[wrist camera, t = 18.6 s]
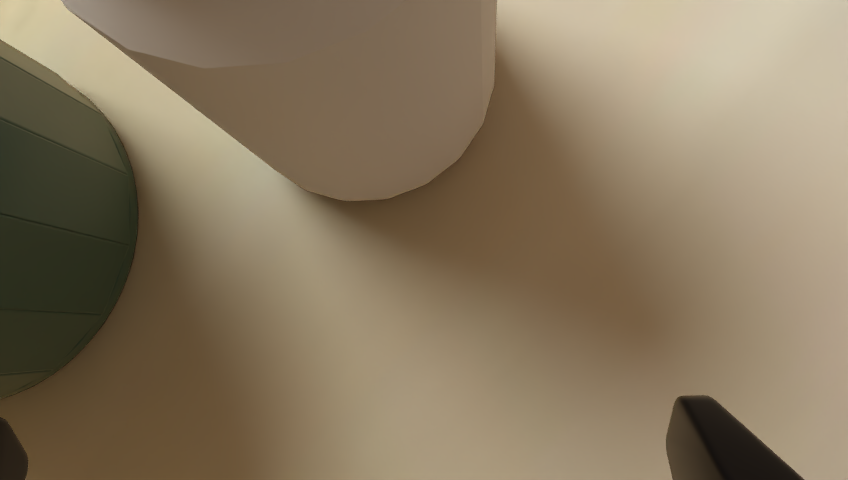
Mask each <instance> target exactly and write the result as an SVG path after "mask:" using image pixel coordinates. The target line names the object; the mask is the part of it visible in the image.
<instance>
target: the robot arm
mask: <svg viewBox="0 0 848 480" xmlns="http://www.w3.org/2000/svg"><path fill="white" fill-rule="evenodd" d="M666 450H667V456H668V460H669V465H670V469H671V473H672V478H673V480H804V479H803V478H802V477H801V476H800V475H799V474H797V473H796V472H795V471H794V470H793V469H792V468H791V467H790V466H789V465H787V464H786V463H785V462H784V461H783V460H782V459H781V458H780V457H778V456H777V455H776V454H775V453H774V452H773V451H772V450H771V449H769V448H768V447H767V446H766V445H765V444H764V443H763V442H762V441H761V440H759V439H758V438H757V437H756V436H755V435H754V434H753V433H752V432H750V431H749V430H748V429H747V428H746V427H745V426H744V425H743V424H741V423H740V422H739V421H738V420H737V419H736V418H735V417H734V416H733V415H731V414H730V413H729V412H728V411H727V410H726V409H725V408H724V407H722V406H721V405H720V404H719V403H718V402H717V401H716V400H714V399H713V398H711V397H709V396H706V395H696V396H680V397H678V398H677V399H676V401H675V403H674V407H673V411H672V415H671V419H670V424H669V428H668V432H667V437H666ZM27 471H28V457H27V454H26V452H25V450H24V448H23V447H22V445H21V443H20V442H19V440H18V438H17V437H16V435H15V433H14V431H13V430H12V428H11V426H10V425H9V423H8V422H7V421H6V420H5V419H3V418H1V417H0V480H25V478H26V475H27Z"/></svg>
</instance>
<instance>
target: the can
mask: <svg viewBox="0 0 848 480" xmlns="http://www.w3.org/2000/svg"><path fill="white" fill-rule="evenodd" d="M61 1H62V2H63V4H64V5H65V6H66V8H67V9H68V10H70V11H71V12H72V13H73V14H75V15H76V16H77V17H79V18H80V19H81V20H82V21H84V22H85V23H86V24H88V25H89V26H90V27H91V28H93V29H94V30H95V31H97V32H98V33H99V34H100V35H102V36H103V37H104V38H106V39H107V40H108V41H109V42H111V43H112V44H113V45H115V46H116V47H117V48H119V49H120V50H121V51H122V52H124V53H125V54H126V55H128V56H129V57H130V58H131V59H133V60H134V61H135V62H137V63H138V64H139V65H140V66H142V67H143V68H144V69H146V70H147V71H148V72H149V73H151V74H152V75H153V76H155V77H156V78H157V79H158V80H160V81H161V82H162V83H164V84H165V85H166V86H167V87H169V88H170V89H171V90H173V91H174V92H175V93H177V94H178V95H179V96H180V97H182V98H183V99H184V100H186V101H187V102H188V103H189V104H191V105H192V106H193V107H195V108H196V109H197V110H198V111H200V112H201V113H202V114H204V115H205V116H206V117H207V118H209V119H210V120H211V121H213V122H214V123H215V124H216V125H218V126H219V127H220V128H222V129H223V130H224V131H225V132H227V133H228V134H229V135H231V136H232V137H233V138H235V139H236V140H237V141H238V142H240V143H241V144H242V145H244V146H245V147H246V148H247V149H249V150H250V151H251V152H253V153H254V154H255V155H256V156H258V157H259V158H260V159H262V160H263V161H264V162H265V163H267V164H268V165H269V166H271V167H272V168H273V169H275V170H276V171H278V172H279V173H281V174H282V175H284V176H285V177H287V178H288V179H290V180H291V181H293V182H294V183H295V184H297V185H298V186H300V187H301V188H303V189H304V190H306V191H309V192H313V193H317V194H320V195H324V196H328V197H331V198H335V199H339V200H342V201H360V200H381V199H389V198H391V197H394V196H397V195H399V194H402V193H405V192H407V191H410V190H413V189H415V188H418V187H421V186H423V185H426V184H427V183H429V182H430V181H431V180H433V179H434V178H435V177H436V176H438V175H439V174H440V173H442V172H443V171H444V170H445V169H447V168H448V167H449V166H451V165H452V164H453V163H454V162H456V161H457V160H458V159H459V158H460V157H461V156H462V154H463V153H464V151H465V150H466V148H467V147H468V145H469V144H470V142H471V141H472V139H473V138H474V137H475V135H476V134H477V132H478V131H479V129H480V128H481V126H482V125H483V122H484V119H485V116H486V112H487V109H488V105H489V102H490V98H491V95H492V91H493V88H494V79H495V46H496V13H497V0H61Z"/></svg>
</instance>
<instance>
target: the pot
mask: <svg viewBox="0 0 848 480" xmlns="http://www.w3.org/2000/svg"><path fill="white" fill-rule="evenodd" d="M137 223H138V206H137V193H136V187H135V182H134V177H133V172H132V169H131V166H130V163H129V160H128V157H127V154H126V152H125V149H124V147H123V145H122V143H121V141H120V139H119V137H118V135H117V134H116V132H115V130H114V129H113V127H112V126H111V124H110V123H109V122H108V120H107V119H106V117H105V116H104V115H103V113H102V112H101V111H100V110H99V109H98V108H97V107H96V106H95V105H94V104H93V103H92V102H91V101H90V100H89V99H88V98H87V97H85V96H84V95H83V94H82V93H80V92H79V91H78V90H76V89H75V88H74V87H72V86H71V85H69V84H68V83H67V82H66V81H65V80H63V79H62V78H61V77H60V76H59V75H58V74H57V73H55V72H53V71H52V70H50V69H48V68H47V67H45V66H43V65H42V64H40V63H38V62H37V61H35V60H33V59H32V58H30V57H28V56H27V55H25V54H23V53H22V52H20V51H19V50H17V49H15V48H14V47H12V46H10V45H9V44H7V43H5V42H4V41H2V40H0V399H1V398H4V397H8V396H11V395H14V394H16V393H18V392H21V391H23V390H25V389H28V388H30V387H32V386H34V385H36V384H37V383H39V382H41V381H42V380H44V379H46V378H47V377H49V376H51V375H52V374H54V373H55V372H56V371H58V370H59V369H60V368H62V367H63V366H64V365H65V364H67V363H68V362H69V361H70V360H72V359H73V358H74V357H75V356H76V355H77V354H78V353H79V352H80V351H81V350H82V349H83V348H84V347H85V346H86V345H87V344H88V343H89V342H90V340H91V339H92V338H93V336H94V335H95V334H96V333H97V331H98V330H99V329H100V327H101V326H102V325H103V324H104V322H105V320H106V319H107V317H108V315H109V314H110V312H111V310H112V309H113V307H114V305H115V304H116V302H117V300H118V297H119V295H120V293H121V291H122V288H123V286H124V284H125V282H126V279H127V276H128V272H129V269H130V266H131V263H132V259H133V254H134V249H135V243H136V238H137Z"/></svg>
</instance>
